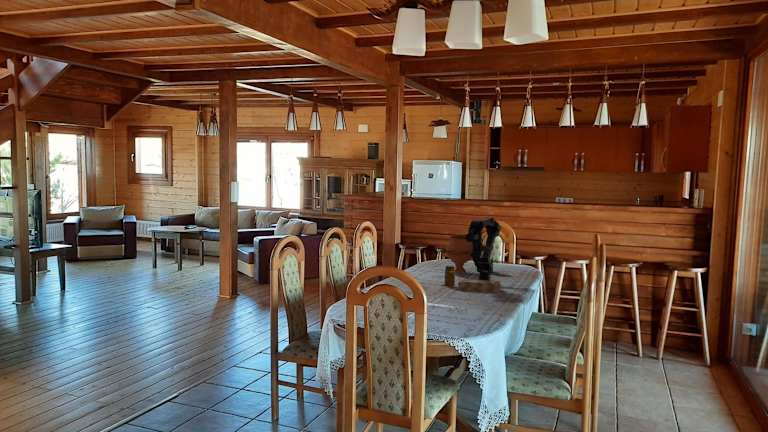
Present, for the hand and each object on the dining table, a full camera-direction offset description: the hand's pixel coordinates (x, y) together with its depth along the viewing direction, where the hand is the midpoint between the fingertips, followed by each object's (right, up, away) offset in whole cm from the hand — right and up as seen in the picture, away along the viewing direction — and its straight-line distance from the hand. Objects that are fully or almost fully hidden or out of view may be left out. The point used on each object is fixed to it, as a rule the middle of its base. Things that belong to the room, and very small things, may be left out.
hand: (476, 266), depth 350 cm
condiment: (-17, -12, -1) cm, 21 cm away
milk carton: (+15, -8, +51) cm, 53 cm away
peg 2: (+6, -13, -12) cm, 19 cm away
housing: (0, -13, -11) cm, 17 cm away
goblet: (-4, -8, +46) cm, 47 cm away
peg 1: (-6, -13, -10) cm, 17 cm away
